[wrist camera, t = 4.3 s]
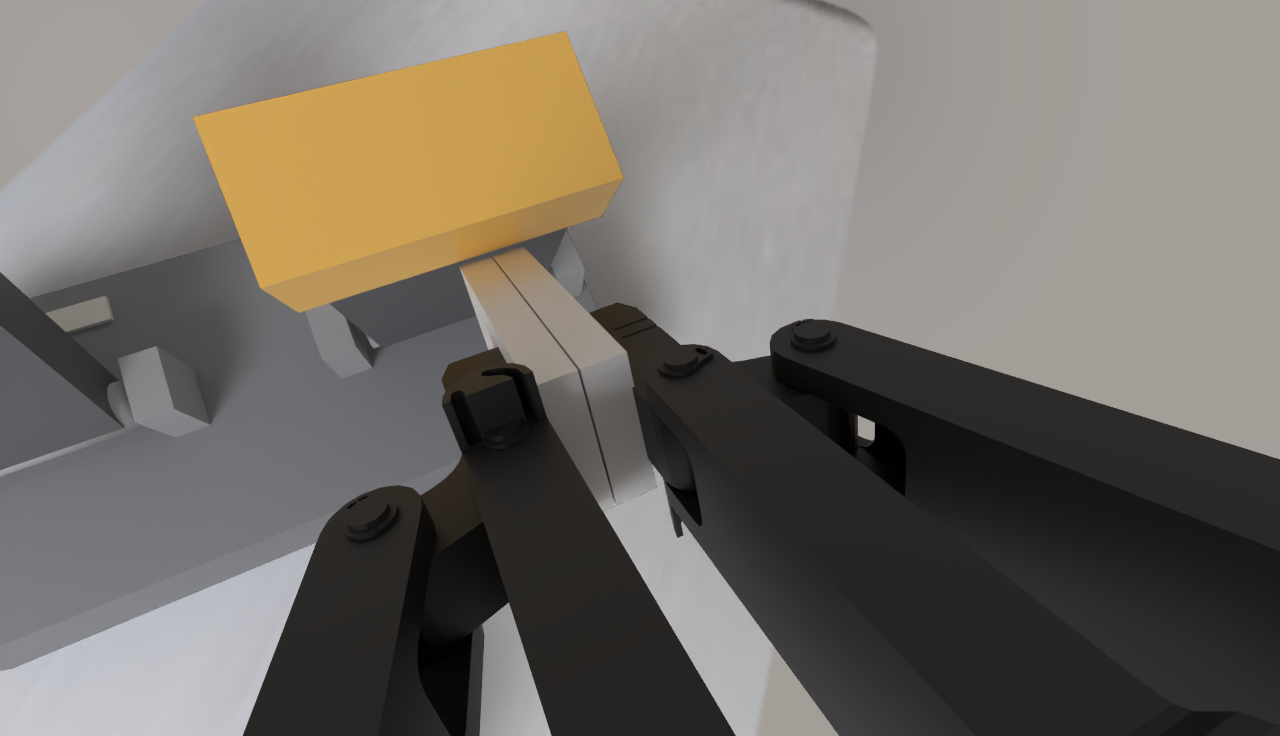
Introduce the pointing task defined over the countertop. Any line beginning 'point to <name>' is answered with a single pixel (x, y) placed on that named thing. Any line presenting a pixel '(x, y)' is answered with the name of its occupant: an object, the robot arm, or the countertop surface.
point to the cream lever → (51, 389)
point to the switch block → (216, 441)
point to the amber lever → (412, 181)
